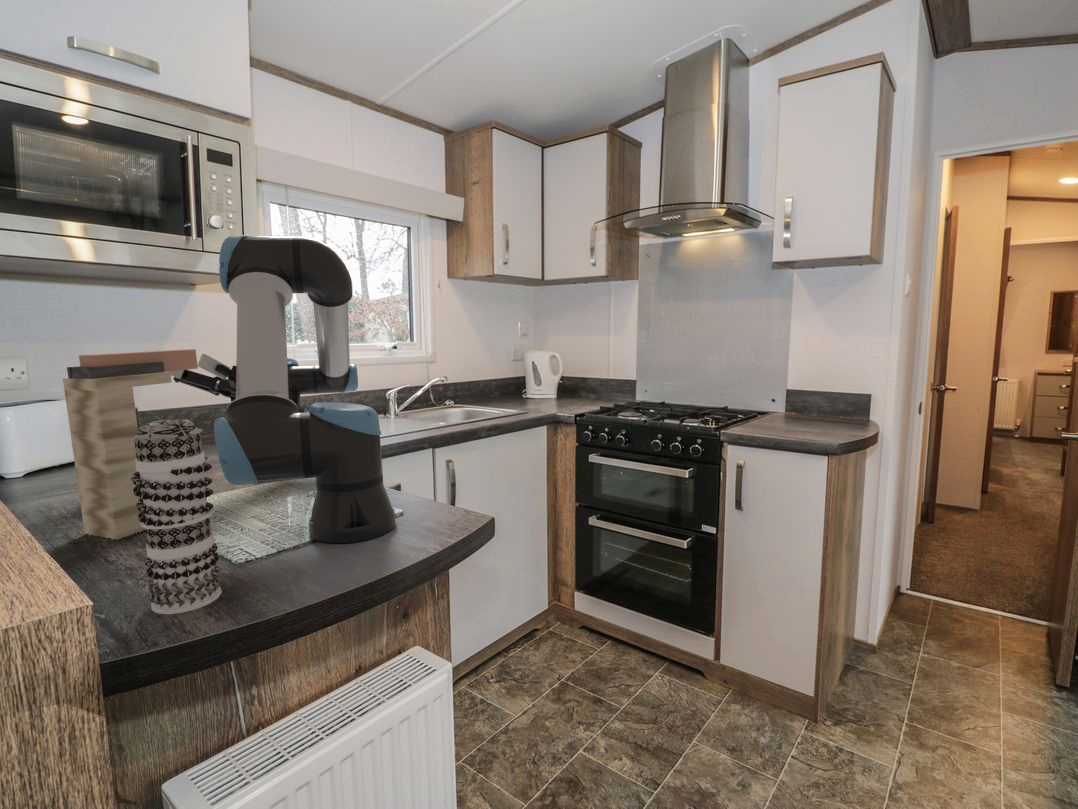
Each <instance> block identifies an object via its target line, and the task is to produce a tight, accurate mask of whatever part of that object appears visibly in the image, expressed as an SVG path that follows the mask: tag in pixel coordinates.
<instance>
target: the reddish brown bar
mask: <svg viewBox="0 0 1078 809" xmlns="http://www.w3.org/2000/svg"><path fill="white" fill-rule="evenodd" d="M78 358H79V366H80V367H99V366H113V365H126V364H140V363H153V362H164V370H165V372H167V371H178V370H198V369H199V368H198V366H197V365H198V360H197V359H198V358H197V350H196V349H194V348H193V349H188V348H187V349H169V350H149V351H132V352H116V353H115V352H114V353H98V354H97V353H96V354H81V355H80V354H79V355H78Z"/></svg>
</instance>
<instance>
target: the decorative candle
mask: <svg viewBox="0 0 1078 809" xmlns="http://www.w3.org/2000/svg"><path fill="white" fill-rule="evenodd" d="M203 431H204V429H202V428H198V427H197V426H196V425H195V423H194V422H193V421H192V420H189V419H186V418H185V419H184V418H176V419H162V420H155V421H150V422H147V423H144V424H141V425H140V428H139V430H138V432H137V434H136V435H134V436H132V437H131V439H134V442H135V451H136V459H135V463H136V471H137V472H135V473H134V474H133V477H132V478H131V480H132V481H133V484H134V485H136V487H134V488H133V492H134V495H135V496H138V497H140V499H139V500H138V502H137V503H136V507H138V510H139V511H141V512H140V513H139V514H138V517H139V519H138V520H139V521H140V522H141V527H143V528H146V530H145V535H146V545H145V547H146V555H147V556H146V557H145V558H144V565H145V566H147V567H148V568H147V569H146V570H145V572H146V577H147V578H149V579H148V581H147V583H146V586H147V590H148V591H149V593H148V598H149V602H151V604H150V607H151V611H152V612H154V613H155V614H158V615H176V614H183V613H188V612H191V611H195V610H199V609H200V608H203V607H205V606H208V605H210V604H212V603H213V602H215V601H216V600H218V599H219V598H220V596H221V595H222V594H223V591H222V588H221V585H220V584H221V583H222V579H221V576H220V572H221V569H220V566H219V565H218V564H217V562H218V561H219V559H220V558H219V556H218V553H216V552H217V551H218V549H219V547H218V545H217V543H216V542H215V540H214V539H215V538H214V533H213V531H212V530H211V527H212V526H211V520H210V517H211V516H213V514H214V510H213V508H214V507H215V506H214V504H213V503H211V502H209V501H208V498H209V497H210V496H211V495H213V494H214V491H213V490H212V489H210V488H208V486H209V485H211V484H212V482H213V479H212V478H209V477H208V476H207V475H206V476H205V473H206V472H208V471H210V470H211V469H212V467H213V466H212V465H211V464H209V463H207V462H206V461H207V460H208V459H209V458H208V456H205V451H204V450H203V446H202V445H203V444H202V438H201V437H202V436H201V435H202V434H201V432H203ZM140 489H142V492H141V490H140ZM144 514H145V515H144Z"/></svg>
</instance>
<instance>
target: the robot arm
mask: <svg viewBox="0 0 1078 809" xmlns="http://www.w3.org/2000/svg"><path fill="white" fill-rule="evenodd" d="M218 263H219V268H218V272H219V274H218V275H219V280H220V286H221V288H222V291H224V292H225V293H226V294H228V295H229V297H230V299H231V300H232V301H233V302H234V303H235V304H236V365H234V364H233V365H232V366H231V367H230V366H227V364H224V363H222V362H221V361H219V360H217V359H215V358H213V357H211V356H209V355H208V354H206V353H201V356H200V358H199V360H198V362H197V366H198V367H199V368H200V369H202V370H204V371H206V372H208V373H209V374H211V375H214V377H213V376H209V375H206V374H203V373H198V372H196V371H192V370H190V369H188V370H178V371H167V372H171V377H173V380H172V381H174V382H175V383H177V384H179V383H181V384H184V385H186V386H190V387H192V388H196V389H199V390H202V391H205V392H208V393H210V394H212V395H214V396H216V397H218V396H220V395H221V396H222V397H225V398H230V402H229V404H227V406H226V410H225V417H224V416H221V417H220V418H216V419H215V420H214V424H213V432H214V433H213V434H214V439H215V447H216V451H217V456H218V460H219V464H220V468H221V471H222V474H223V475H224V478H225V480H226V481H227V482H229V484H231V485H235V486H242V485H243V486H244V485H255V486H258V485H260V484H268V483H276V482H287V481H295V480H304V479H311V478H312V479H314V478H315V486H316V493H315V498H314V502H313V505H312V509H311V516H310V518H309V520H308V528H309V529H308V530H309V537H310V538H311V537H312V538H311V539H313V540H314V541H317V542H320V543H326V544H328V543H329V544H350V543H355V542H356V543H357V542H362V541H367V540H371V539H374V538H378V537H380V536H383V535H385V534H387V533H389V532H391V531H392V530H393V529H394V528H395V526H396V513H395V510H394V508H393V506H392V503H391V501H390V498H389V495H388V493H387V490H386V488H385V484H384V475H383V474H384V473H383V472H384V471H383V460H382V457H383V456H382V449H381V448H382V447H381V435H382V430H381V429H380V428H381V426H380V420H379V419H380V418H379V414H378V412H377V411H376V410H375V409H374V408H373V407H371V406H369V405H363V404H359V403H349V402H348V403H347V402H332V401H331V402H329V401H327V402H314V403H312V404H310V405H309V408H308V409H307V408H306V407H304V406H303V405H302V404H301V395H302V396H303V395H314V394H315V395H316V394H335V393H337V394H339V393H341V394H342V393H344V394H345V393H347V392H348V393H349V392H355V391H357V390H358V388H359V379H358V378H359V377H358V376H359V375H358V368H357V365H356V364H355V363H351V362H350V360H351V359H350V330H349V328H350V326H349V321H350V320H349V302H351V300H352V297H353V281H352V277H351V274H350V270H348V268H347V265H346V264H345V263H344V261H343V260H342V258H341V257H340V256H339V255H338V254H337V252H336V251H334V250H333V249H332V248H331V247H330V246H329V245H327V244H326V243H324V242H323V241H320V240H318V239H316V238H313V237H308V236H282V235H254V234H249V233H247V234H242V235H241V234H240V235H229V236H227V237H226V238H224V240H223V242H222V244H221V246H220V251H219V260H218ZM294 294H307V297H308V298H309V300H310V301H311V302H312V305H313V313H314V314H313V315H314V325H315V326H314V327H315V335H316V336H315V338H316V347H317V348H316V349H317V357H318V358H317V360H318V364H317V365H316V364H315V365H299V362H298V361H297V360H296V359H295V358H292V357H291V358H290V357H289V358H288V346H287V343H288V342H287V322H286V320H287V318H286V315H287V314H286V307H287V306H288V305H289V304H290V303H291V302H292V300H293V297H294V296H293V295H294ZM218 381H219V382H218Z"/></svg>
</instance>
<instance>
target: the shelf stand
mask: <svg viewBox="0 0 1078 809" xmlns="http://www.w3.org/2000/svg"><path fill="white" fill-rule="evenodd" d="M66 371H67V377H63V378H62V382H63V389H64V390H63V391H64V396H65V402H66V411H67V417H68V418H67V420H68V424H69V432H70V439H71V446H72V452H73V453H72V454H73V461H74V469H75V474H76V481H77V490H78V496H79V503H80V510H81V517H82V523H83V531H84V535H85V534H89V535H88V536H91V535H94V536H93V537H97V536H98V538H103V537H105V538H104V539H108V538H111V539H110V540H114V539H116V541H118V539H119V540H122V539H124V538H123V537H125V538H127V537H130V536H132V535H131V534H133V535H135V534H134V533H136V534H138V533H137V532H139V533H141V531H142V532H144V531H143V530H145V531H146V528H143V527H141V522H140V521H139V520H138V519H139V517H138V514H139V513H140V512H141V511H139V510H138V507H136V503H137V502H138V500H139V499H140V497H138V496H135V495H134V492H133V488H134V487H136V485H134V484H133V481H132V480H131V478H132V477H133V474H134V473H135V472H137V471H136V463H135V459H136V451H135V442H134V439H131V437H132V436H134V435H136V434H137V432H138V427H137V419H136V411H135V407H136V405H135V404H136V403H135V396H134V389H133V388H134V387H142V386H143V387H144V386H152V385H161V384H169V383H173V382H172V381H173V380H172V376H171V372H165V370H164V362H153V363H140V364H126V365H113V366H99V367H80V365H79V366H69V367H68V366H67V367H66ZM140 490H141V492H142V489H140ZM144 515H145V514H144ZM129 535H130V536H129ZM99 536H100V537H99ZM126 536H127V537H126ZM121 538H122V539H121Z"/></svg>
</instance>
